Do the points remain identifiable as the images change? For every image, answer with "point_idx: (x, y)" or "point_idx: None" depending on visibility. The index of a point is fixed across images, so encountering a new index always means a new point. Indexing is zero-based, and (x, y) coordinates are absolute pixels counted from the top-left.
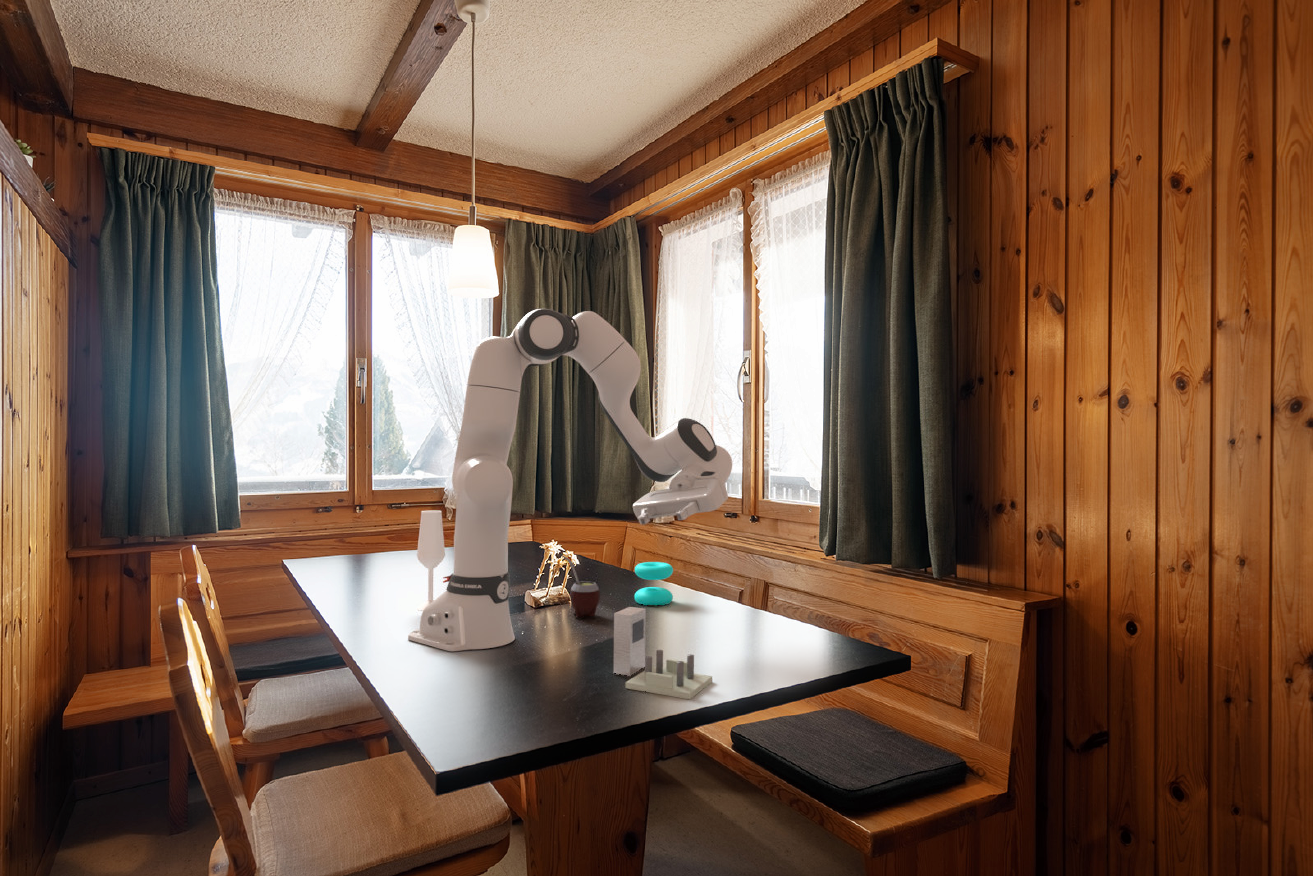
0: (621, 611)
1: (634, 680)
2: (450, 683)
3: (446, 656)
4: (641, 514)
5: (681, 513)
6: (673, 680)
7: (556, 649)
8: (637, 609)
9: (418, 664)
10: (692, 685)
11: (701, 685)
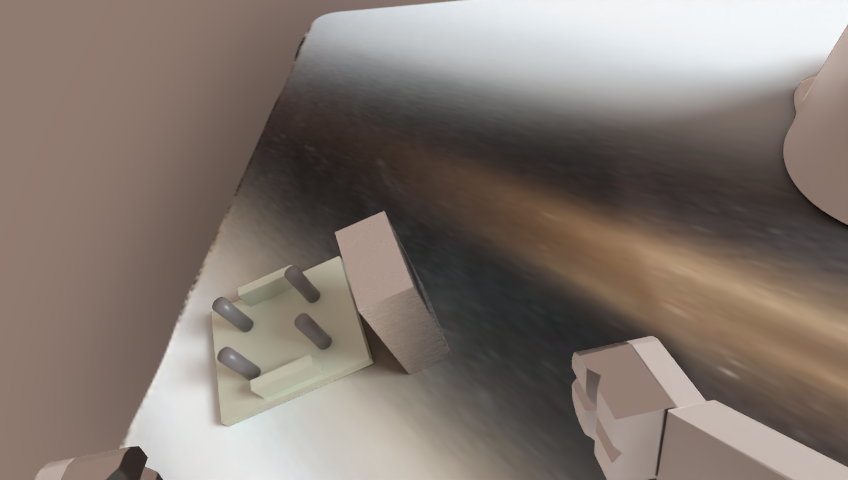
0: (384, 235)
1: (333, 274)
2: (574, 58)
3: (765, 79)
4: (680, 381)
5: (64, 463)
6: (273, 334)
7: (694, 283)
8: (369, 285)
9: (727, 35)
10: (227, 345)
11: (216, 364)
